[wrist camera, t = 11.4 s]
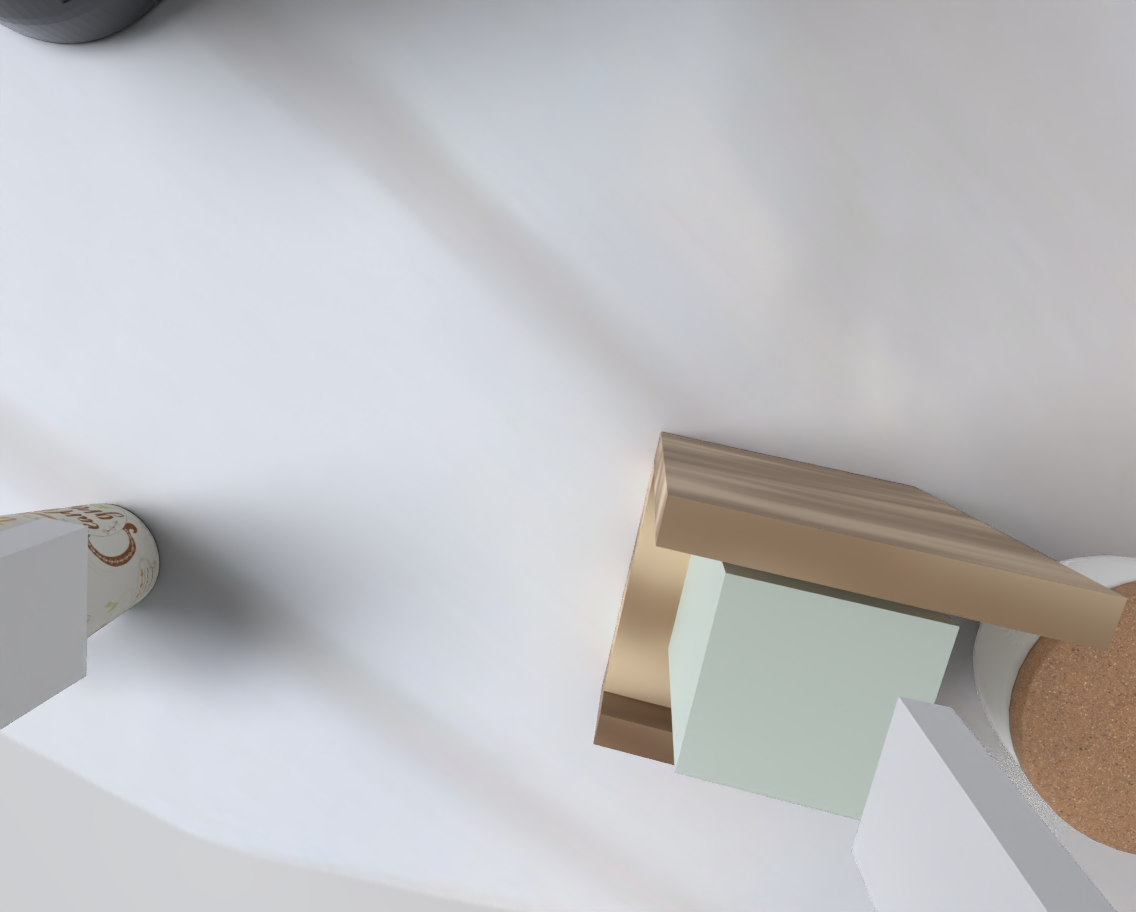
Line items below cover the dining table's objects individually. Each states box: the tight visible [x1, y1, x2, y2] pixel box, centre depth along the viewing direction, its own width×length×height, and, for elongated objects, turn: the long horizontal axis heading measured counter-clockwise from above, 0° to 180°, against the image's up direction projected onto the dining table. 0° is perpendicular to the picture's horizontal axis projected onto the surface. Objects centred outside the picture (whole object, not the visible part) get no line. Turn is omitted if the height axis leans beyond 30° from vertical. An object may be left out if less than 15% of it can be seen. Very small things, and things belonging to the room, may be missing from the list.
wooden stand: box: [594, 432, 1128, 765], centre depth 25 cm, size 14×12×14 cm
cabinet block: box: [668, 554, 960, 821], centre depth 25 cm, size 8×7×9 cm
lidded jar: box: [973, 555, 1136, 854], centre depth 26 cm, size 11×11×9 cm
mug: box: [0, 504, 159, 638], centre depth 32 cm, size 8×13×10 cm, turn 130°
